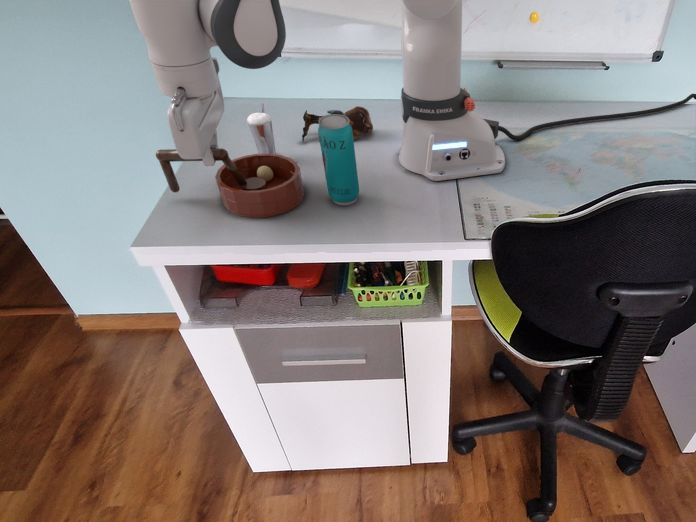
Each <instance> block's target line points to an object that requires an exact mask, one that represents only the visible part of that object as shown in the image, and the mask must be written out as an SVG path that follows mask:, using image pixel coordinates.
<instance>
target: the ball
mask: <svg viewBox="0 0 696 522" xmlns="http://www.w3.org/2000/svg"><path fill="white" fill-rule="evenodd" d="M257 177H260V178H263V179H265V181H266V182H269V181H271V180H272V178H273V171H272V170H271V168H269V167H268V166H261V167H259V168H258V170H257Z"/></svg>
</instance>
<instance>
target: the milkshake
mask: <svg viewBox="0 0 696 522" xmlns="http://www.w3.org/2000/svg"><path fill="white" fill-rule="evenodd" d="M260 105H261V106H260V107H261V112H254V113H250V115H248V116H247V118H246V121H247V124H248V127H249V131H250V132H251V136H252V138H253V142H254V145H255V147H256V150H257V154H277V150H276V144H275V137H274V130H273V122H272V117H271V116H270V114H268V113H266V112H265V105H264V102H261V104H260Z"/></svg>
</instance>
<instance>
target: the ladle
mask: <svg viewBox="0 0 696 522" xmlns="http://www.w3.org/2000/svg"><path fill="white" fill-rule="evenodd" d="M211 151H212V152H214V155H215V158H216V162H217V161H219V162H220V161H221V162H222V163H223V165H224V164H225V166H226V167H227V168H228V170H229V171H230V173H231V174H232V175H233V177H234V178H235V179H236V181H237V182H238V184H239V185H240V186H241V187H242V190H246V191H254V190H264V189H268V188H267V184H266V181H265V179H263V178H260V177H252V178H248V179H244V177H243V176H242V174H241V173H240V172H239V170H238V169H237V167H236V166H235V165H234V163H233V162H232V160H233V159H231V158H230V155H229V152H228V151H227V150H226V149H225V148H221V147H219V149H211ZM155 157H156V159H157V160H158V162H159V165H160V167H161V170H162V172H163V175H164V177H165V180H166V182H167V185H168V187H169V188H168V189H169V190H170V192H172V193H178V192H180V189H181V187H180V185H179V182H178V180H177V177H176V174H175V171H174V169H173V166H172V164H171V162H172V163H173V162H203V160H202V159H182V158H181V157H180V156H179V155H178V153H177V150H176V148H173V149H172V148H171V149H170V148H167V149H158V150H156V152H155Z"/></svg>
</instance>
